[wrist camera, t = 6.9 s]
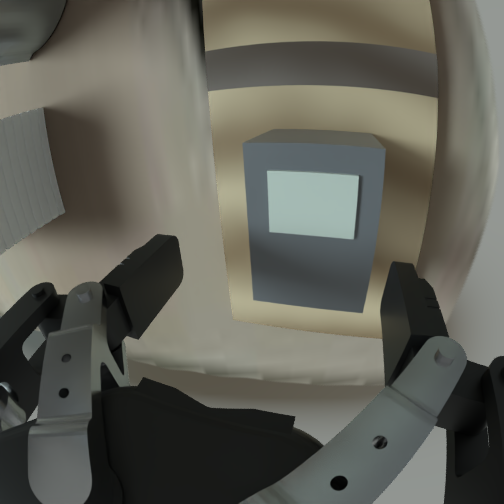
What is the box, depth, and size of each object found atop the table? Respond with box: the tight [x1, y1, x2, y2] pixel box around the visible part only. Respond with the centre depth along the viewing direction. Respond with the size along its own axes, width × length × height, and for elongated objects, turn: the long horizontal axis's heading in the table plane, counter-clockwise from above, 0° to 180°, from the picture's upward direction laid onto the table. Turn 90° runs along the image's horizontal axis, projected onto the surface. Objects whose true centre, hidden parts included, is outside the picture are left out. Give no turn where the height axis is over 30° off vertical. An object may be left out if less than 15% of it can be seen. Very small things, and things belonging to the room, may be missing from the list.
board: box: [202, 0, 438, 339], centre depth 15 cm, size 24×12×1 cm, turn 4°
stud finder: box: [242, 129, 386, 313], centre depth 13 cm, size 7×5×5 cm
